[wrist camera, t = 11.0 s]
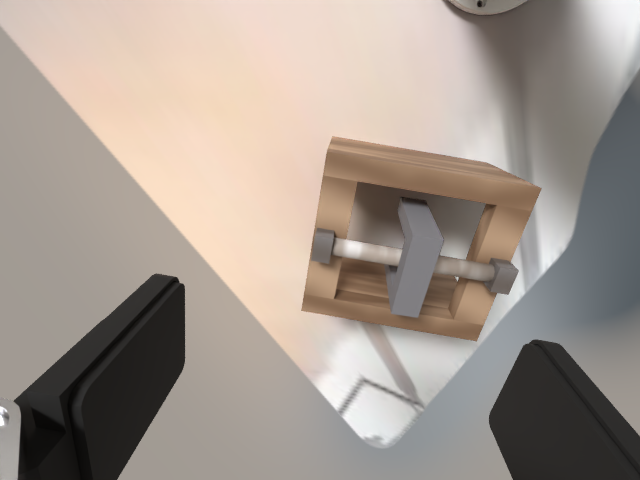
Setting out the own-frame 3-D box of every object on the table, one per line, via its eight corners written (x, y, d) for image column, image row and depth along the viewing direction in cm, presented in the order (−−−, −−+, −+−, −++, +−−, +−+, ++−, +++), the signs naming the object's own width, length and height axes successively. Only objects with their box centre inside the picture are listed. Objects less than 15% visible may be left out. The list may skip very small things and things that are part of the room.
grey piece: (400, 196, 33) (413, 235, 26) (425, 200, 33) (444, 239, 26) (384, 264, 37) (390, 313, 30) (406, 267, 37) (417, 317, 30)
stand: (332, 136, 39) (325, 155, 26) (486, 162, 39) (555, 194, 26) (312, 258, 46) (298, 322, 33) (445, 281, 45) (484, 354, 33)
